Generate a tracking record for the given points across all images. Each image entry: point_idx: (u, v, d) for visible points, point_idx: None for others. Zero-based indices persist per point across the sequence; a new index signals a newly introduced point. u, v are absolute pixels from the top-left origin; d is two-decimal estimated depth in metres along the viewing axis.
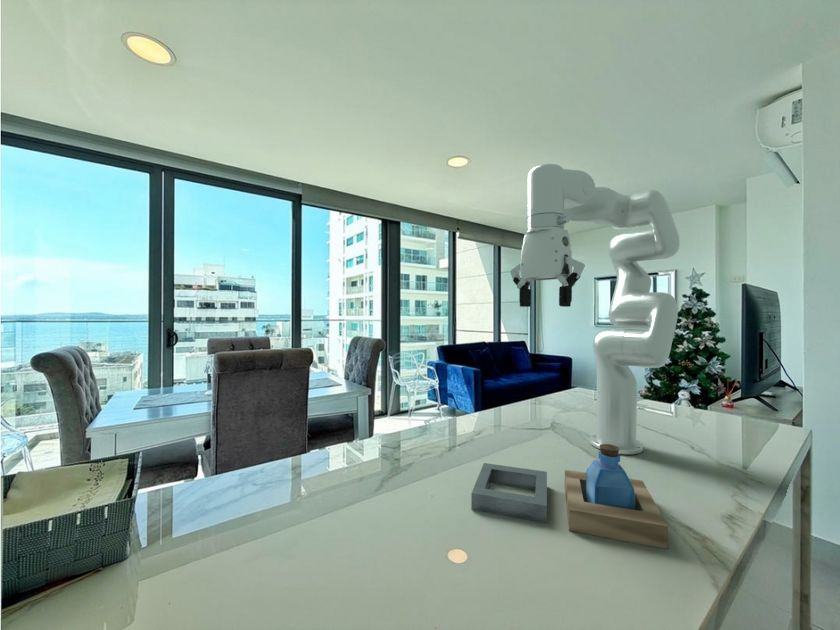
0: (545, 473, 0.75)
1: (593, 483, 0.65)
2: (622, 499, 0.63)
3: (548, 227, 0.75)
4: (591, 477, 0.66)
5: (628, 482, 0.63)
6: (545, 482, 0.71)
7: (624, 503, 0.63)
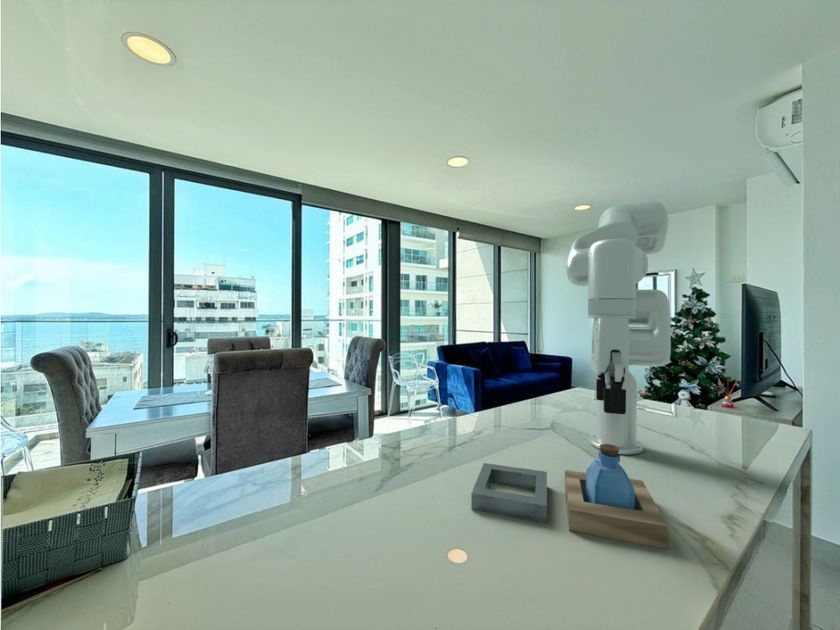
0: (545, 473, 0.75)
1: (593, 483, 0.65)
2: (622, 499, 0.63)
3: None
4: (591, 477, 0.66)
5: (628, 482, 0.63)
6: (545, 482, 0.71)
7: (624, 503, 0.63)
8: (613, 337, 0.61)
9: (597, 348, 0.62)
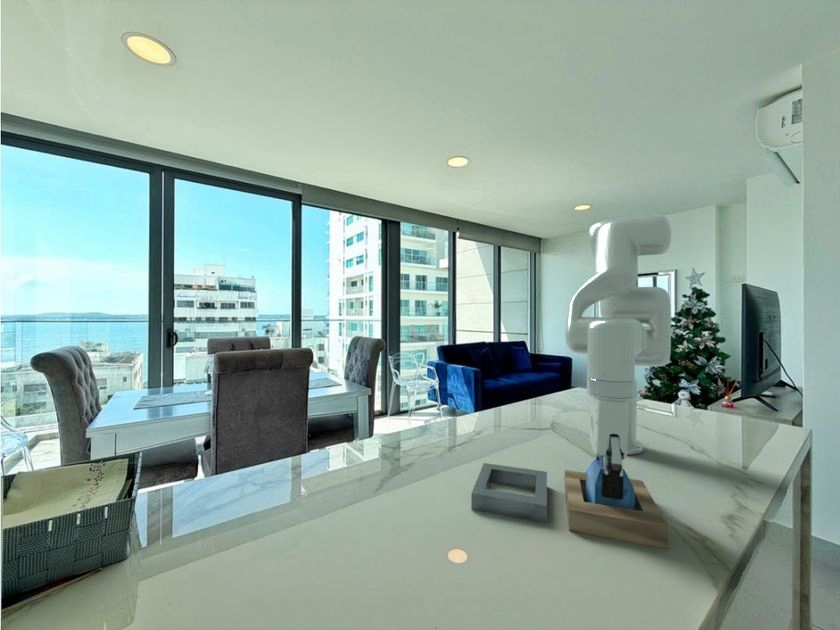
0: (545, 473, 0.75)
1: (593, 483, 0.65)
2: (622, 499, 0.63)
3: None
4: (591, 477, 0.66)
5: (628, 482, 0.63)
6: (545, 482, 0.71)
7: (624, 503, 0.63)
8: (612, 421, 0.61)
9: (596, 430, 0.63)
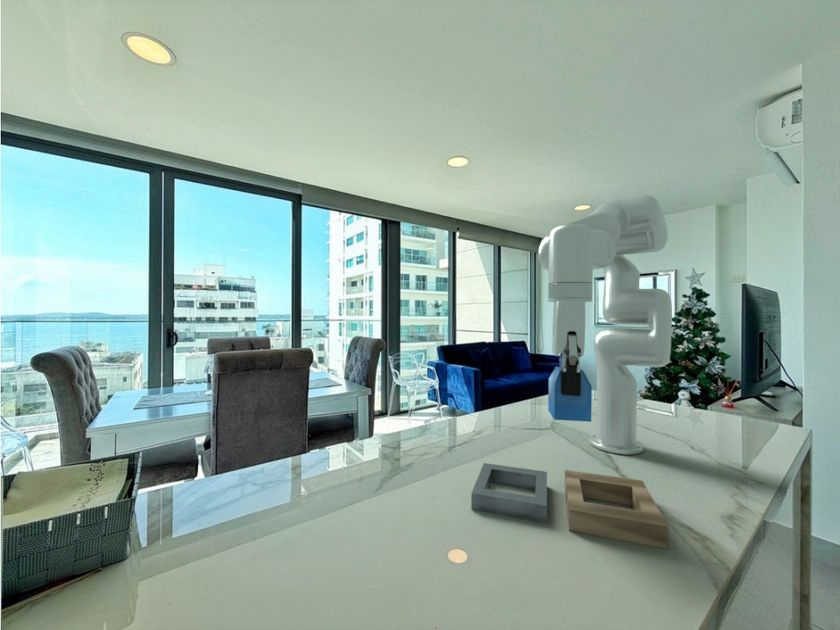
0: (545, 473, 0.75)
1: (553, 384, 0.66)
2: (580, 396, 0.65)
3: None
4: (552, 381, 0.68)
5: (586, 380, 0.65)
6: (545, 482, 0.71)
7: (582, 401, 0.65)
8: (570, 319, 0.63)
9: (555, 330, 0.65)
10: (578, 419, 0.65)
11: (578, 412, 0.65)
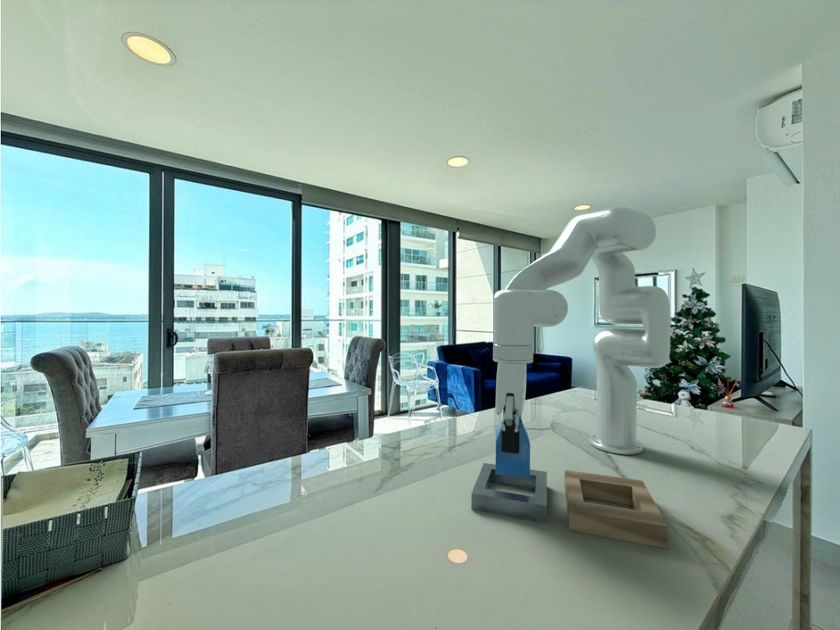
0: (545, 473, 0.75)
1: (496, 440, 0.70)
2: (519, 453, 0.68)
3: None
4: (496, 435, 0.72)
5: (525, 438, 0.68)
6: (545, 482, 0.71)
7: (521, 457, 0.68)
8: (508, 381, 0.67)
9: (496, 390, 0.68)
10: (518, 474, 0.68)
11: (518, 468, 0.68)
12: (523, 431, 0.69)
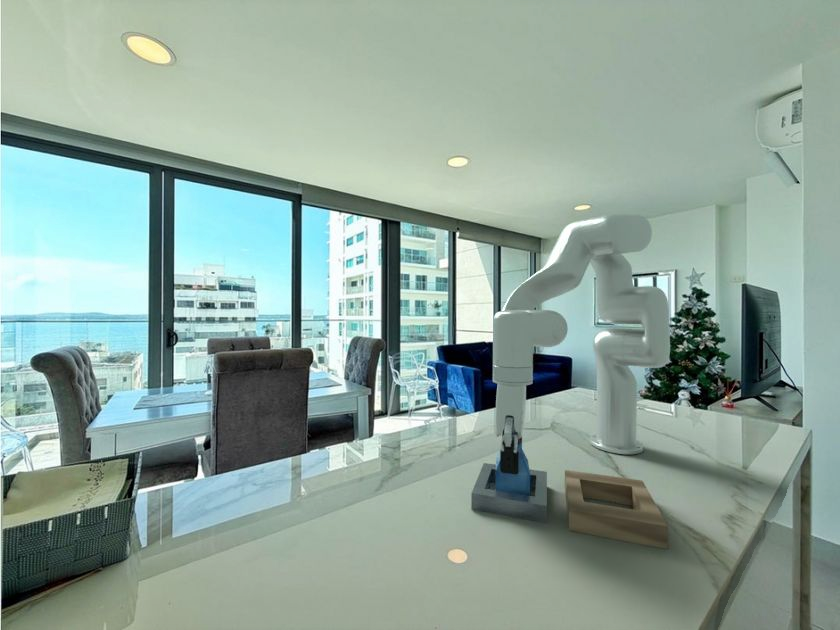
0: (545, 473, 0.75)
1: None
2: (519, 483, 0.68)
3: None
4: (496, 463, 0.72)
5: (525, 467, 0.69)
6: (545, 482, 0.71)
7: (521, 487, 0.68)
8: (508, 404, 0.67)
9: None
10: None
11: None
12: (523, 460, 0.69)
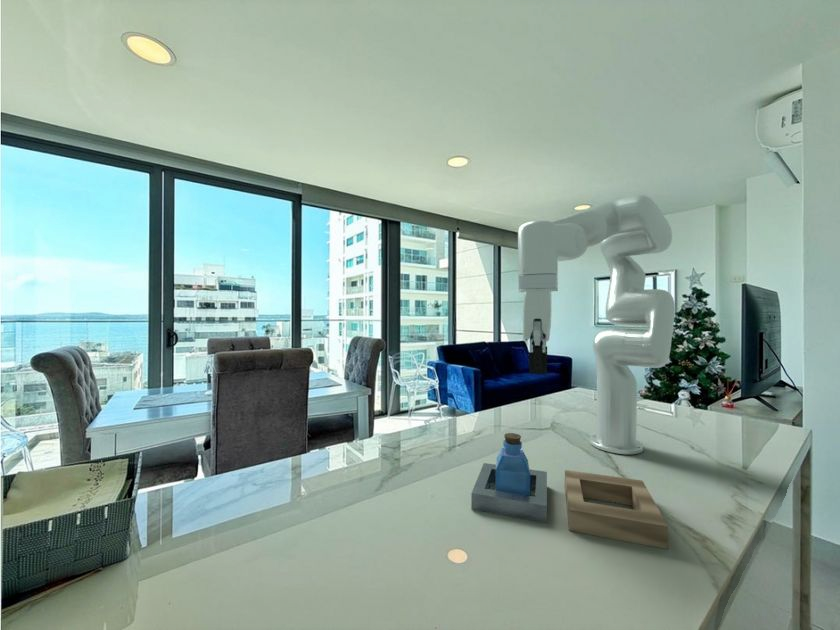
0: (545, 473, 0.75)
1: None
2: (519, 483, 0.68)
3: None
4: (496, 463, 0.72)
5: (525, 467, 0.69)
6: (545, 482, 0.71)
7: (521, 487, 0.68)
8: (535, 308, 0.70)
9: (523, 318, 0.71)
10: None
11: None
12: (523, 460, 0.69)
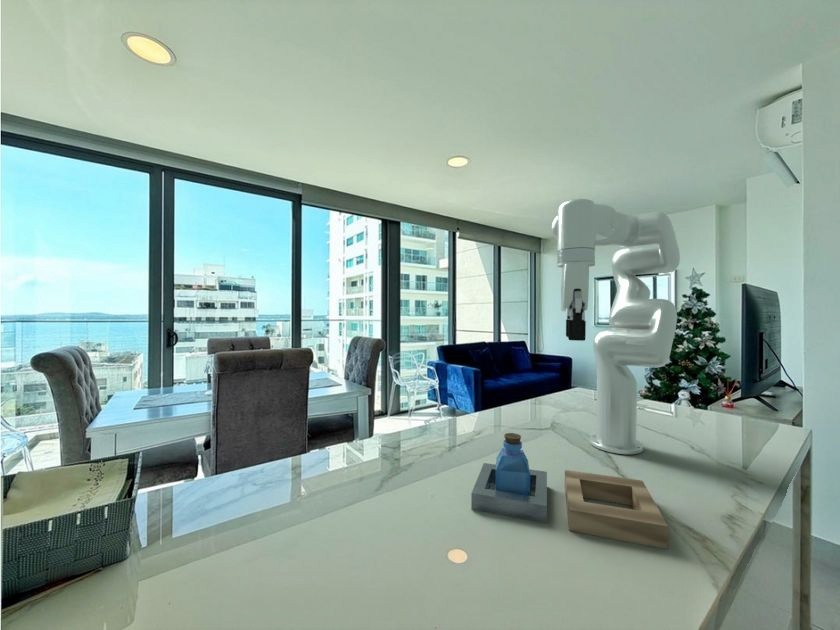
0: (545, 473, 0.75)
1: (496, 468, 0.70)
2: (519, 483, 0.68)
3: None
4: (496, 463, 0.72)
5: (525, 467, 0.69)
6: (545, 482, 0.71)
7: (521, 487, 0.68)
8: (575, 278, 0.75)
9: (563, 288, 0.76)
10: None
11: None
12: (523, 460, 0.69)
